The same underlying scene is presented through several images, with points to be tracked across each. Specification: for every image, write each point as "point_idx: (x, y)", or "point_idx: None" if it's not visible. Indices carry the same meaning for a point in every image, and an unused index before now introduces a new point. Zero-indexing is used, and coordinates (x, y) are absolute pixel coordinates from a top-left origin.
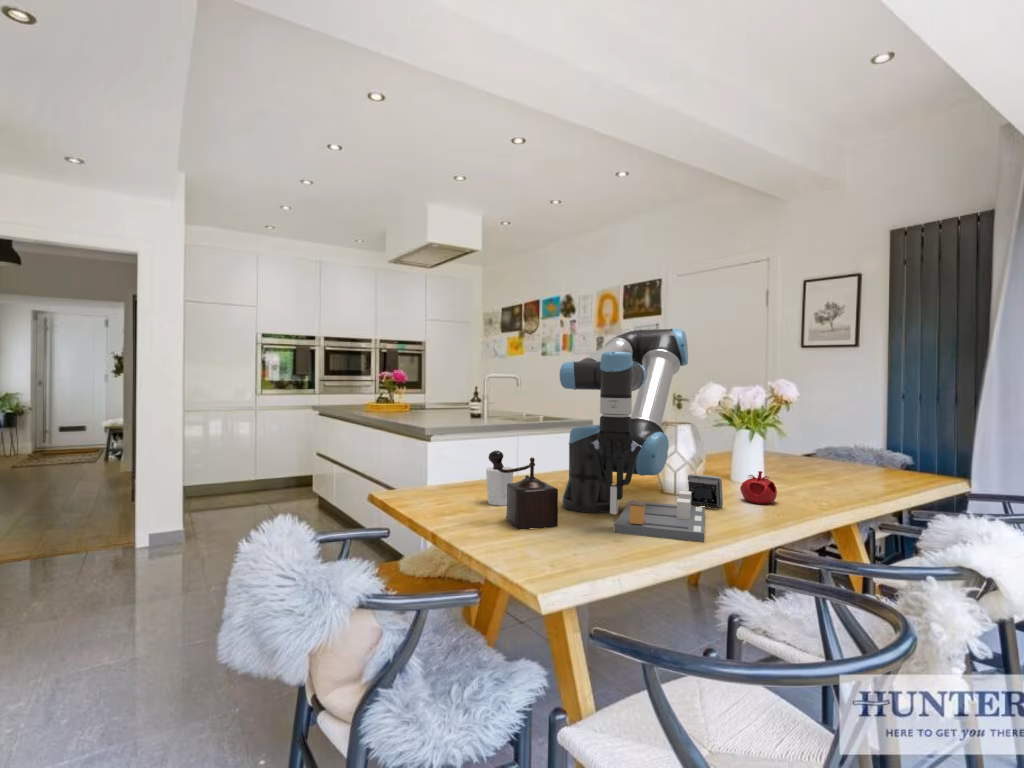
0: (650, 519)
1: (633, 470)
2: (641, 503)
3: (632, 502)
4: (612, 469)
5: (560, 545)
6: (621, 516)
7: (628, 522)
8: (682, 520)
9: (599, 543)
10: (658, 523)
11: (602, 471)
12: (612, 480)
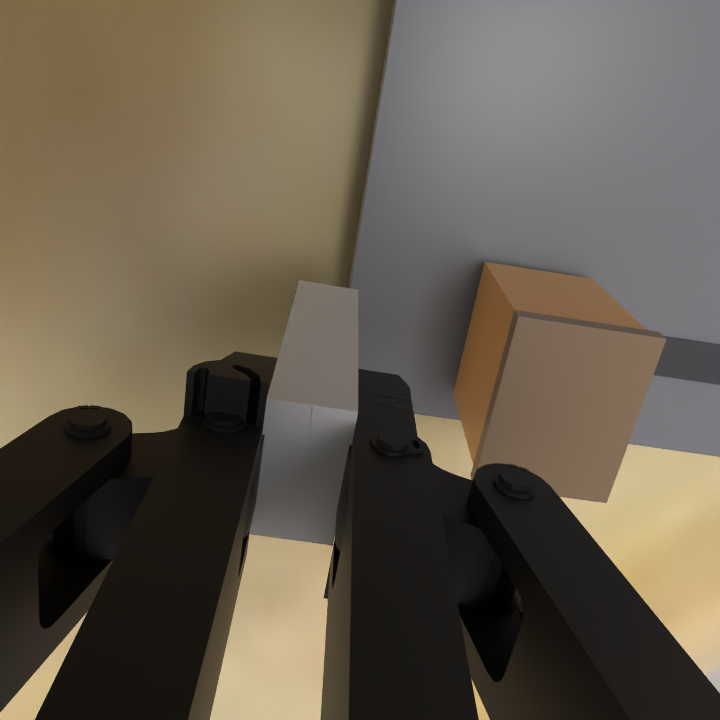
0: (656, 190)
1: (663, 639)
2: (597, 448)
3: (508, 424)
4: (223, 597)
5: (53, 662)
6: (392, 143)
7: (444, 335)
8: None
9: (254, 596)
10: (694, 310)
11: (30, 543)
12: (258, 448)
